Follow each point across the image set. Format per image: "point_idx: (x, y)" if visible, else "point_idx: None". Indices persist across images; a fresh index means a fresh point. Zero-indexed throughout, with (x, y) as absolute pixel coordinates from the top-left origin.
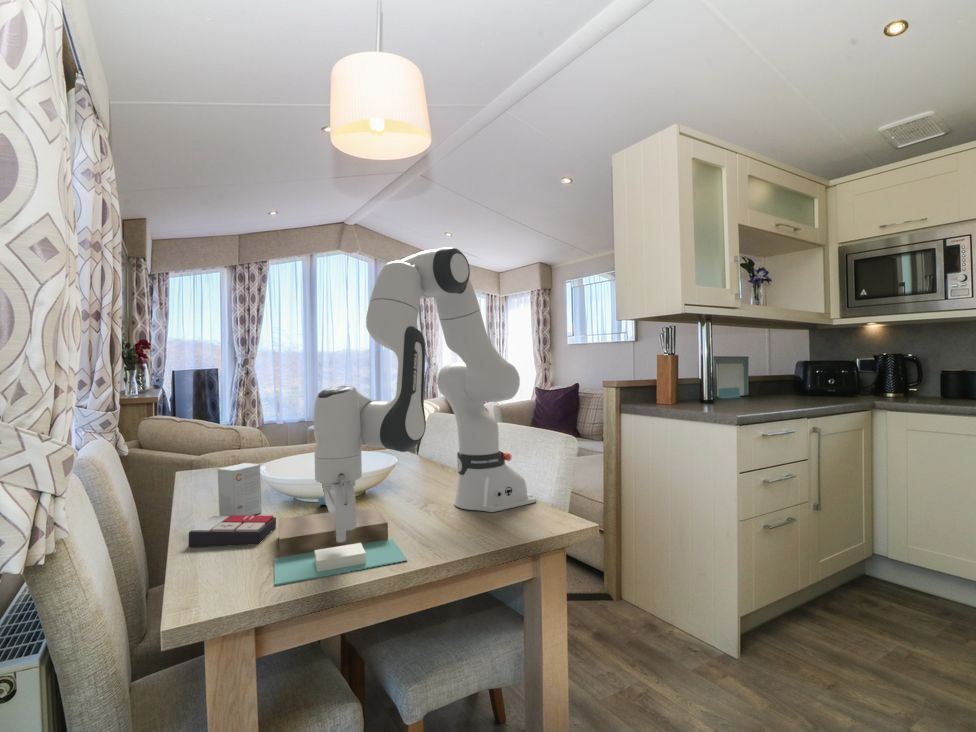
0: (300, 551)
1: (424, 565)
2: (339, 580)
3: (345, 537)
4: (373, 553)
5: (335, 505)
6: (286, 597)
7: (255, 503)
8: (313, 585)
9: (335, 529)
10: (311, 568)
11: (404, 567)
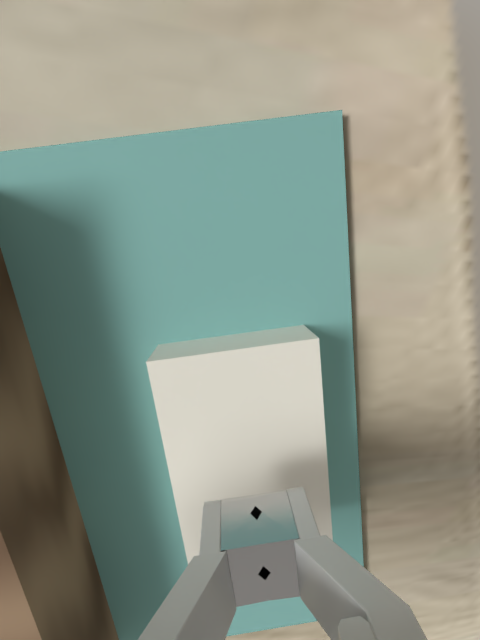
0: (98, 591)
1: (427, 23)
2: (412, 422)
3: (307, 502)
4: (192, 285)
5: None
6: (462, 562)
7: None
8: (413, 501)
9: (235, 609)
10: None
11: (405, 142)
